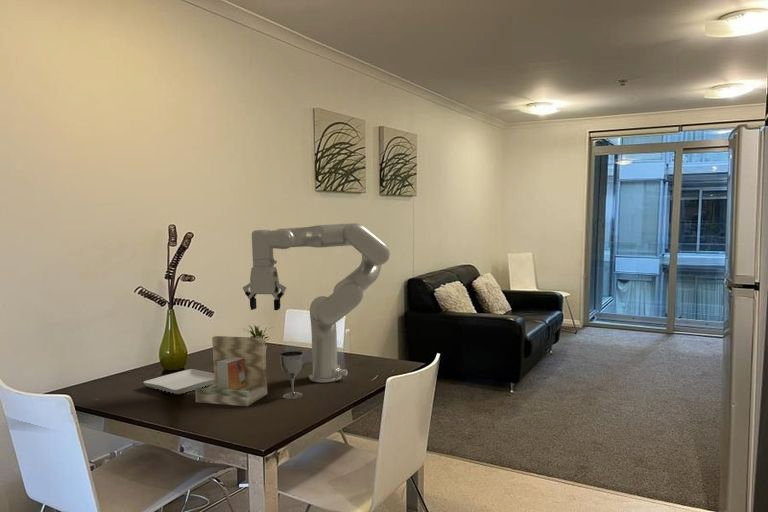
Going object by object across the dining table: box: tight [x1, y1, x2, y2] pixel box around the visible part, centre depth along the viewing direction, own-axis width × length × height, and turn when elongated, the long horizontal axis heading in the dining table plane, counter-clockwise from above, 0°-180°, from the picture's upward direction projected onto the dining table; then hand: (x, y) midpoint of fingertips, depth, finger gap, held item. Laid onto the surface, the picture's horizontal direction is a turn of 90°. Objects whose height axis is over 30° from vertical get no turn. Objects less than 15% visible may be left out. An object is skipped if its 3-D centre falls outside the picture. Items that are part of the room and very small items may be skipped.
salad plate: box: [142, 368, 214, 395], centre depth 207 cm, size 21×21×3 cm
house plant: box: [242, 324, 273, 353], centre depth 243 cm, size 14×14×16 cm
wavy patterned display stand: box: [194, 335, 268, 407], centre depth 190 cm, size 20×13×20 cm, turn 73°
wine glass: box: [279, 350, 304, 400], centre depth 191 cm, size 8×8×15 cm
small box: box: [217, 357, 246, 390], centre depth 190 cm, size 8×6×10 cm
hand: (265, 309), depth 203 cm, fingers open, 9 cm apart
